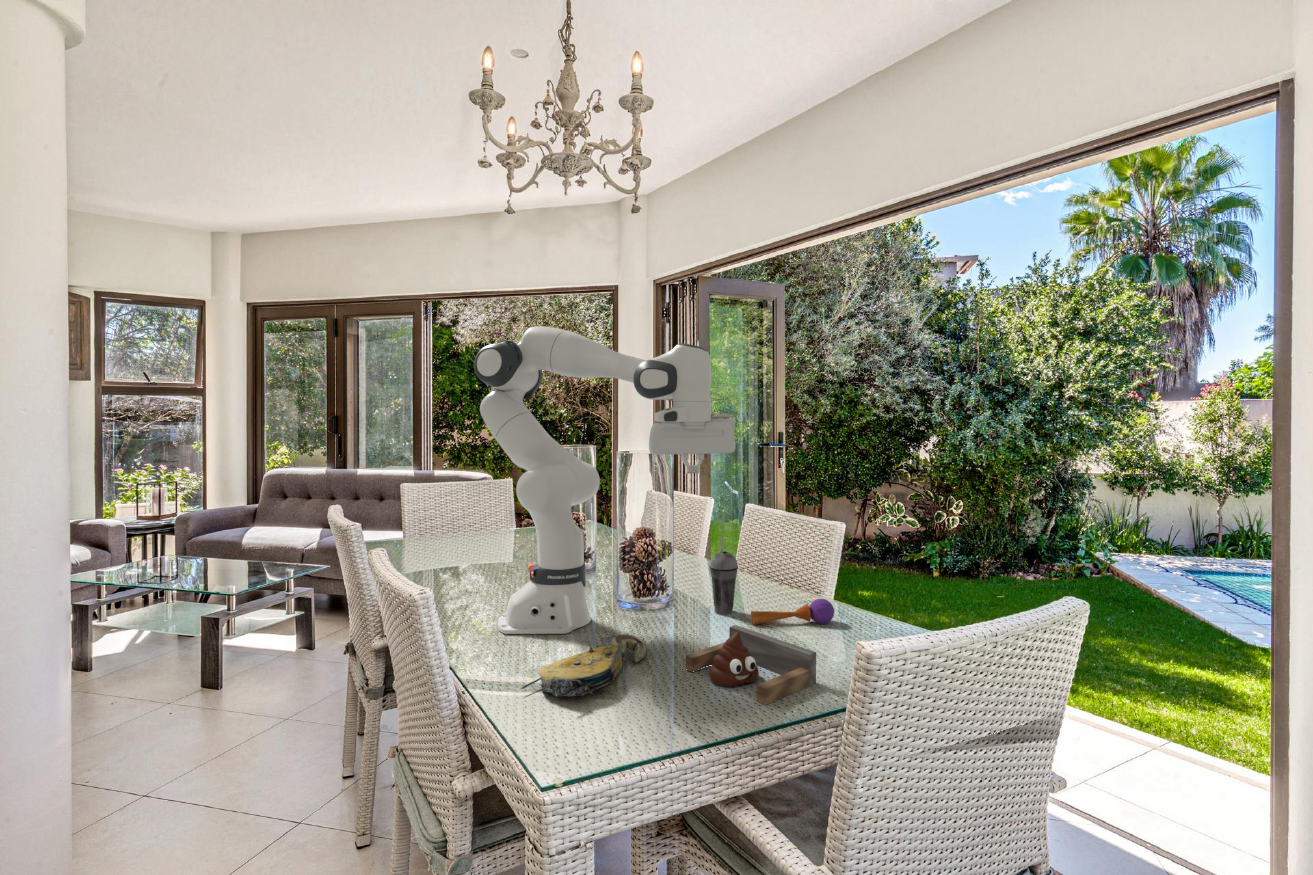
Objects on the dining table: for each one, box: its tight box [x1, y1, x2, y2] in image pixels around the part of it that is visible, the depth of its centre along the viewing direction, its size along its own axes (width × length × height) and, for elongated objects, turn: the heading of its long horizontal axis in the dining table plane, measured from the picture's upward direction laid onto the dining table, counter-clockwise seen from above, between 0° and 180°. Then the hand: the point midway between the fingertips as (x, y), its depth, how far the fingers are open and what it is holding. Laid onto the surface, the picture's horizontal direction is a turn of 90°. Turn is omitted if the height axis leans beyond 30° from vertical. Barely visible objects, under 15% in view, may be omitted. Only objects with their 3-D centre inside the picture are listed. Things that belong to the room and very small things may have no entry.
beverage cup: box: [709, 534, 739, 616], centre depth 176 cm, size 7×7×20 cm
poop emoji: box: [708, 632, 760, 688], centre depth 134 cm, size 10×8×9 cm
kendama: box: [750, 598, 835, 626], centre depth 168 cm, size 6×6×20 cm
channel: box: [685, 624, 817, 706], centre depth 136 cm, size 15×21×6 cm
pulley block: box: [520, 633, 648, 698], centre depth 137 cm, size 14×6×30 cm
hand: (692, 473), depth 161 cm, fingers closed
